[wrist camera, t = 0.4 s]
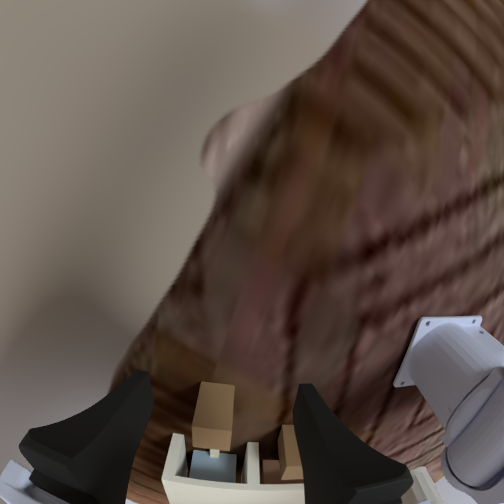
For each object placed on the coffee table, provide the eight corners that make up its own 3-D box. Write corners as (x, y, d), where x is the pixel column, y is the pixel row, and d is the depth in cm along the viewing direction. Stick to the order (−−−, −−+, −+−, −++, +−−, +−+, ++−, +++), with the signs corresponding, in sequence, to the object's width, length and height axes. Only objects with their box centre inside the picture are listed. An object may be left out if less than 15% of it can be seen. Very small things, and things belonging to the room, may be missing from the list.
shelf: (329, 441, 26) (341, 485, 19) (310, 475, 28) (317, 513, 22) (173, 432, 25) (161, 479, 19) (179, 468, 28) (171, 507, 21)
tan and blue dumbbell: (246, 386, 23) (245, 431, 18) (233, 472, 28) (232, 506, 22) (190, 379, 23) (178, 424, 18) (195, 468, 27) (189, 501, 22)
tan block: (319, 424, 25) (329, 464, 20) (294, 476, 28) (299, 508, 23) (272, 424, 25) (275, 466, 19) (257, 476, 28) (258, 509, 23)
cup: (431, 470, 31) (451, 513, 20) (394, 490, 32) (410, 534, 21) (427, 459, 30) (450, 508, 18) (385, 482, 31) (403, 533, 19)
